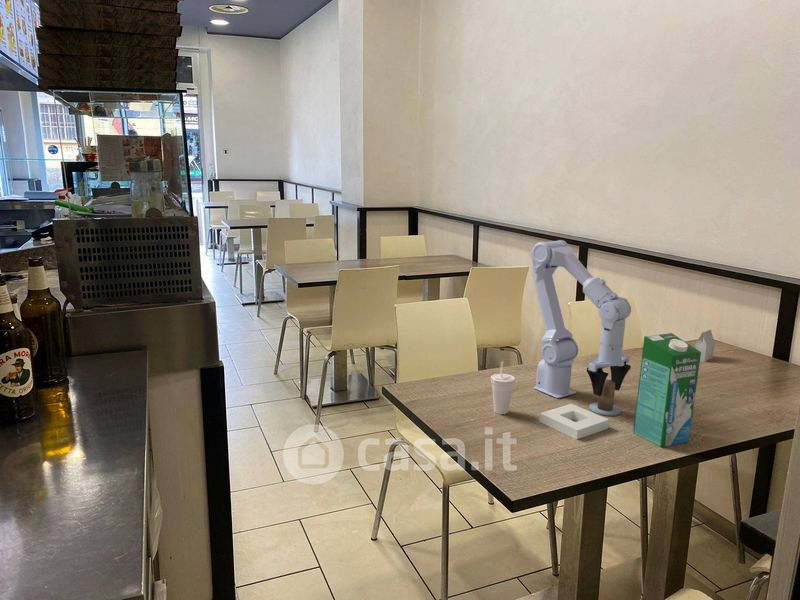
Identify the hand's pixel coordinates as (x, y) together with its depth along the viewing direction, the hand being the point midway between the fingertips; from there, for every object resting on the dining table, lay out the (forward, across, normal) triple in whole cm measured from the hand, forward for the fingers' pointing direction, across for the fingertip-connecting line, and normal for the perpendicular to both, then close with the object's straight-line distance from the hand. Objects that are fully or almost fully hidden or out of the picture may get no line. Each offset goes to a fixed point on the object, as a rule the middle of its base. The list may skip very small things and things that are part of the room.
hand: (606, 392), depth 162 cm
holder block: (+5, -15, -2) cm, 16 cm away
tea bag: (+6, +68, +11) cm, 69 cm away
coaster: (+5, 0, 0) cm, 5 cm away
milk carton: (+5, -2, -18) cm, 19 cm away
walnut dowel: (+5, 0, 0) cm, 5 cm away
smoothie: (+5, -25, +14) cm, 29 cm away
